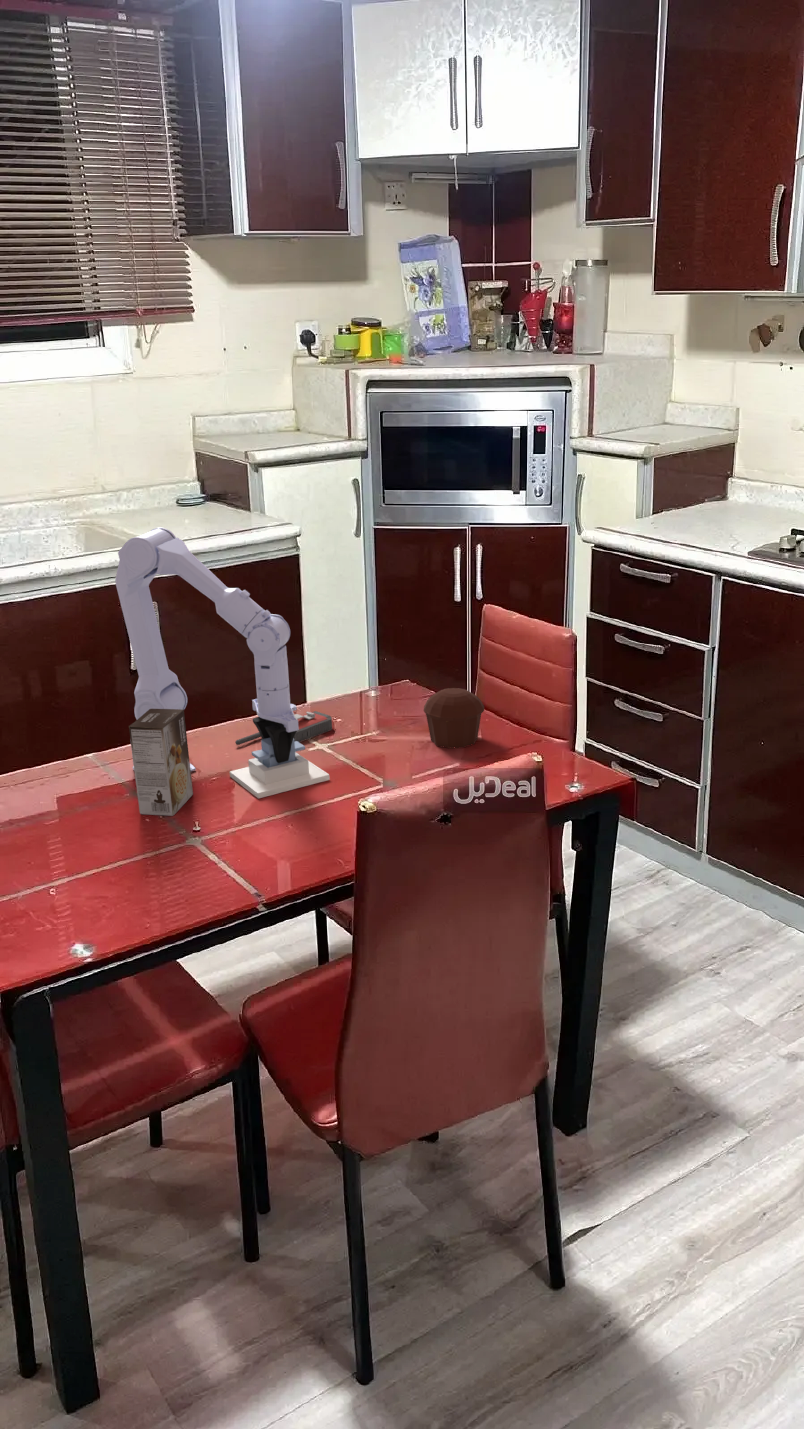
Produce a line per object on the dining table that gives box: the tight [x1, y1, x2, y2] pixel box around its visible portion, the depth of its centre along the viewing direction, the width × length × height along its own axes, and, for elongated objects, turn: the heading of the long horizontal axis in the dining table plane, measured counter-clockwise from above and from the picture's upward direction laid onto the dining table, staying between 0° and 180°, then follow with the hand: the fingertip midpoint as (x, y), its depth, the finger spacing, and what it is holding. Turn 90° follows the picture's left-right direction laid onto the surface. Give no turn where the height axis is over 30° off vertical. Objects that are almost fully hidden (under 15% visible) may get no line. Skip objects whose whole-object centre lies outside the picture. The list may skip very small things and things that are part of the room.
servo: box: [251, 738, 306, 768], centre depth 207 cm, size 9×3×6 cm, turn 122°
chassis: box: [229, 751, 331, 799], centre depth 208 cm, size 14×12×4 cm
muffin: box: [423, 687, 485, 749], centre depth 222 cm, size 12×11×10 cm
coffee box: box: [128, 709, 194, 817], centre depth 197 cm, size 9×6×16 cm
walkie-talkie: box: [234, 710, 333, 746], centre depth 228 cm, size 9×4×20 cm
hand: (277, 758), depth 207 cm, fingers closed on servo, 3 cm apart
